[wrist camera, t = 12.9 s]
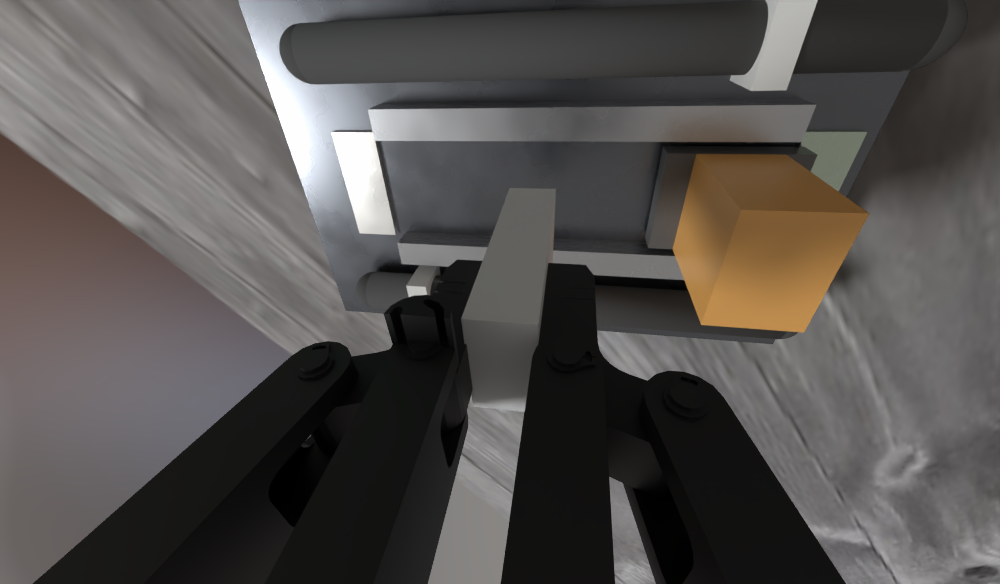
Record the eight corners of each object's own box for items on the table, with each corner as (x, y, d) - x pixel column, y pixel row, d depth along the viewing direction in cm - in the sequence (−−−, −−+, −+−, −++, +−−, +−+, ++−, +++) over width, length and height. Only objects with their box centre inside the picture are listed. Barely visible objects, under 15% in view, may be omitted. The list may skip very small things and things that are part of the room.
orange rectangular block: (663, 146, 15) (700, 208, 10) (804, 146, 14) (915, 214, 10) (644, 237, 18) (668, 322, 13) (766, 242, 17) (840, 335, 12)
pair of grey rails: (292, 13, 15) (250, 14, 13) (951, -23, 12) (1024, -29, 10) (373, 294, 23) (354, 320, 21) (780, 323, 20) (801, 357, 18)
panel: (264, -20, 16) (205, -26, 14) (932, -67, 12) (1023, -87, 10) (360, 291, 26) (336, 323, 23) (758, 319, 22) (782, 360, 19)
